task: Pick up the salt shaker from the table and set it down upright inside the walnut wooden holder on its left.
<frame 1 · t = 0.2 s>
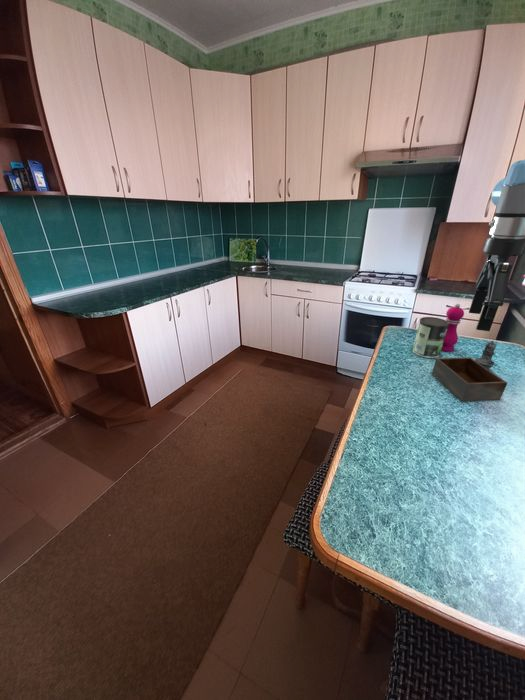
hand: (478, 321, 78), 28 cm above the table, tool pointing down, fingers open, 13 cm apart
holder: (463, 386, 99), on the table
coffee can: (425, 353, 121), on the table
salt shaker: (481, 370, 109), on the table
pepper mill: (444, 348, 124), on the table
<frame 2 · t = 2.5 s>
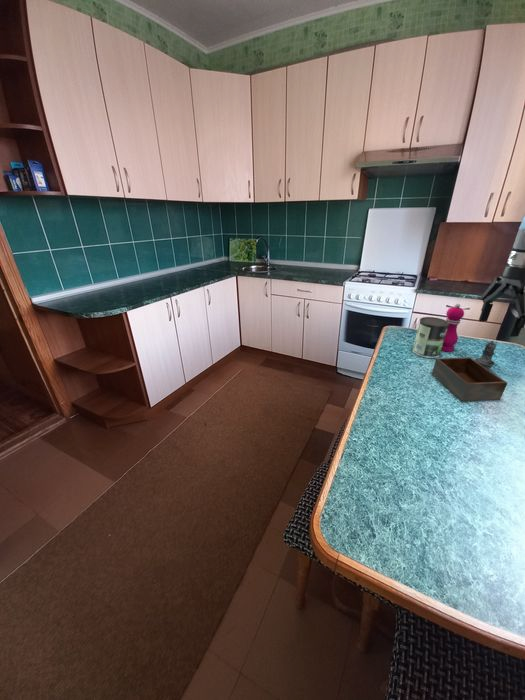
hand: (496, 328, 101), 17 cm above the table, tool pointing down, fingers open, 13 cm apart
nothing on the table moved.
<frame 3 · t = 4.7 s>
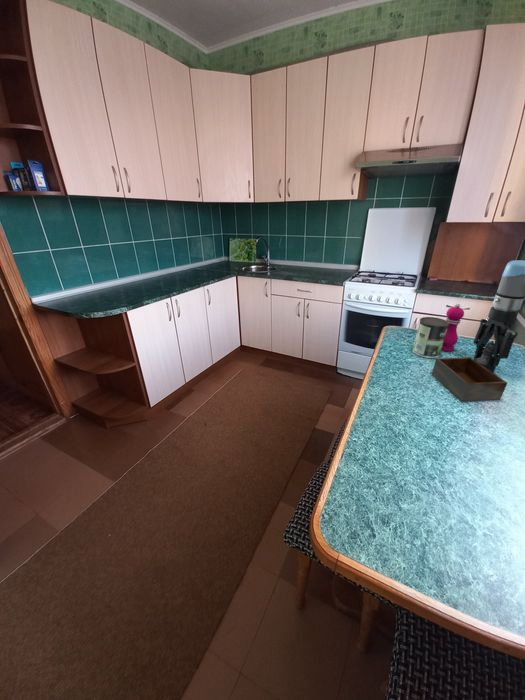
hand: (482, 367, 108), 1 cm above the table, tool pointing down, fingers closed on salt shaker, 6 cm apart
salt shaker: (481, 370, 109), on the table, touching gripper
everything else where it was.
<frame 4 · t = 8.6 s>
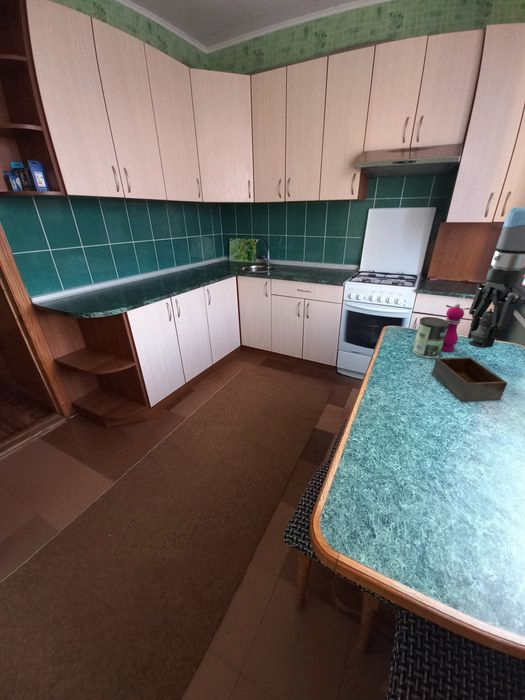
hand: (479, 341, 92), 17 cm above the table, tool pointing down, fingers closed on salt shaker, 6 cm apart
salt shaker: (478, 344, 93), point 15 cm above the table, touching gripper
everything else where it was.
when the fingers open (3 cm above the table, at t = 12.9 s): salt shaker stays where it is, resting on holder.
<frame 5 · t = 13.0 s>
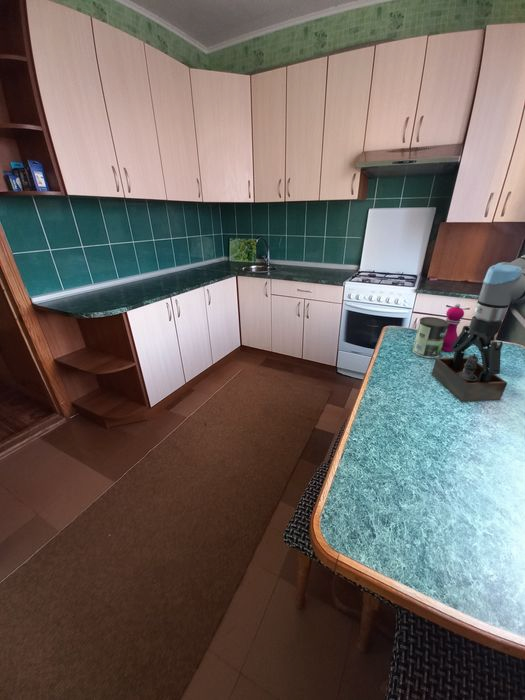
hand: (466, 378, 98), 3 cm above the table, tool pointing down, fingers open, 11 cm apart
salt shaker: (463, 385, 99), resting on holder
everything else where it was.
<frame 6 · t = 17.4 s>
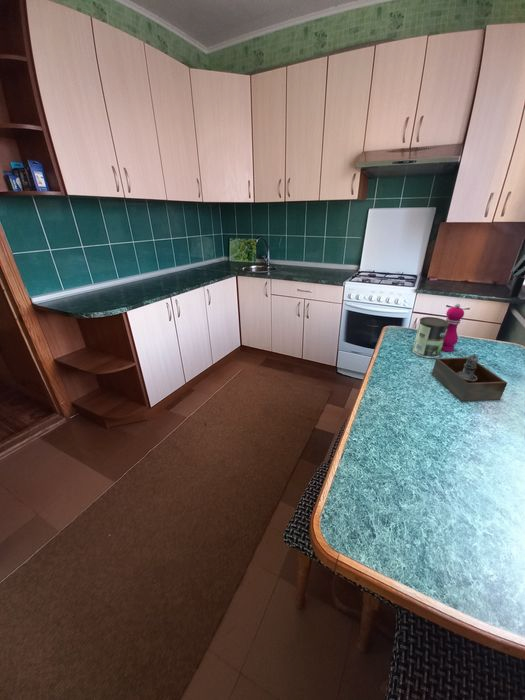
nothing on the table moved.
at the end: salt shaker inside the target area in the holder (0.0 cm from its centre), point 0.4 cm above the holder's base; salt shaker tilted 0°; the gripper is holding nothing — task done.
